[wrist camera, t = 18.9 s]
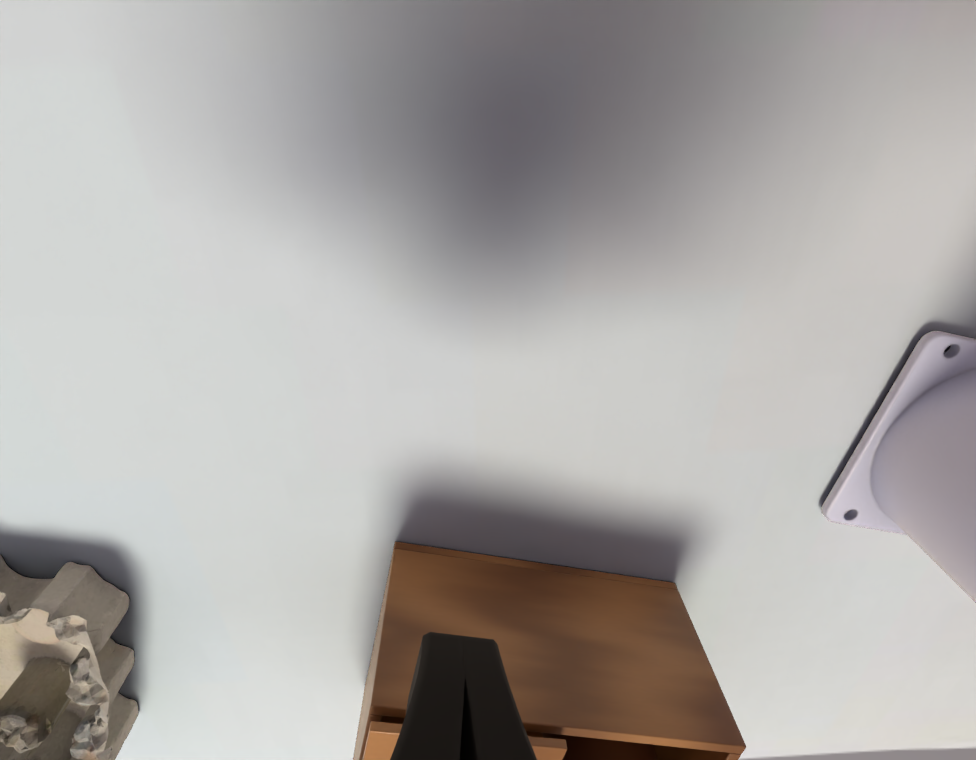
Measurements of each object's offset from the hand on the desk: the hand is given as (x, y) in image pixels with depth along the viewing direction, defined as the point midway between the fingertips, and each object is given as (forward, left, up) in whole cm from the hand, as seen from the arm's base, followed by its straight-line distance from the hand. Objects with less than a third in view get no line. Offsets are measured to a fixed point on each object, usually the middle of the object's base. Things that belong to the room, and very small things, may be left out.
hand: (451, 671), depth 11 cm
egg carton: (+14, +15, -11) cm, 23 cm away
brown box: (-5, +11, -10) cm, 16 cm away
